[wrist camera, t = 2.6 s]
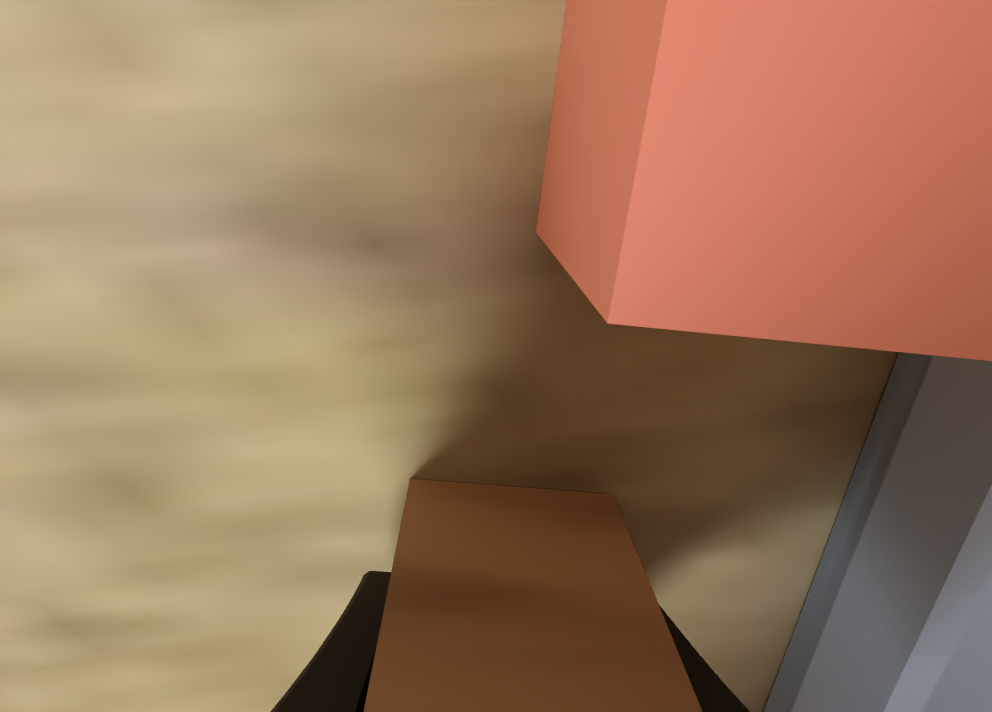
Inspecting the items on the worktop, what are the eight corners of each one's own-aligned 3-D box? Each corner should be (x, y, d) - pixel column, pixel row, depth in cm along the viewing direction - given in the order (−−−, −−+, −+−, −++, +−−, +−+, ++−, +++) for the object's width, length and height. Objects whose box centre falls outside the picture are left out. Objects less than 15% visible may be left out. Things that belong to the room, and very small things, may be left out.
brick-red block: (766, 256, 11) (1092, 370, 5) (535, 231, 10) (607, 324, 5) (841, -15, 9) (1423, -285, 4) (573, -53, 9) (745, -417, 3)
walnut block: (580, 647, 14) (652, 986, 8) (399, 638, 14) (345, 982, 8) (613, 494, 12) (730, 778, 7) (410, 478, 12) (353, 763, 6)
